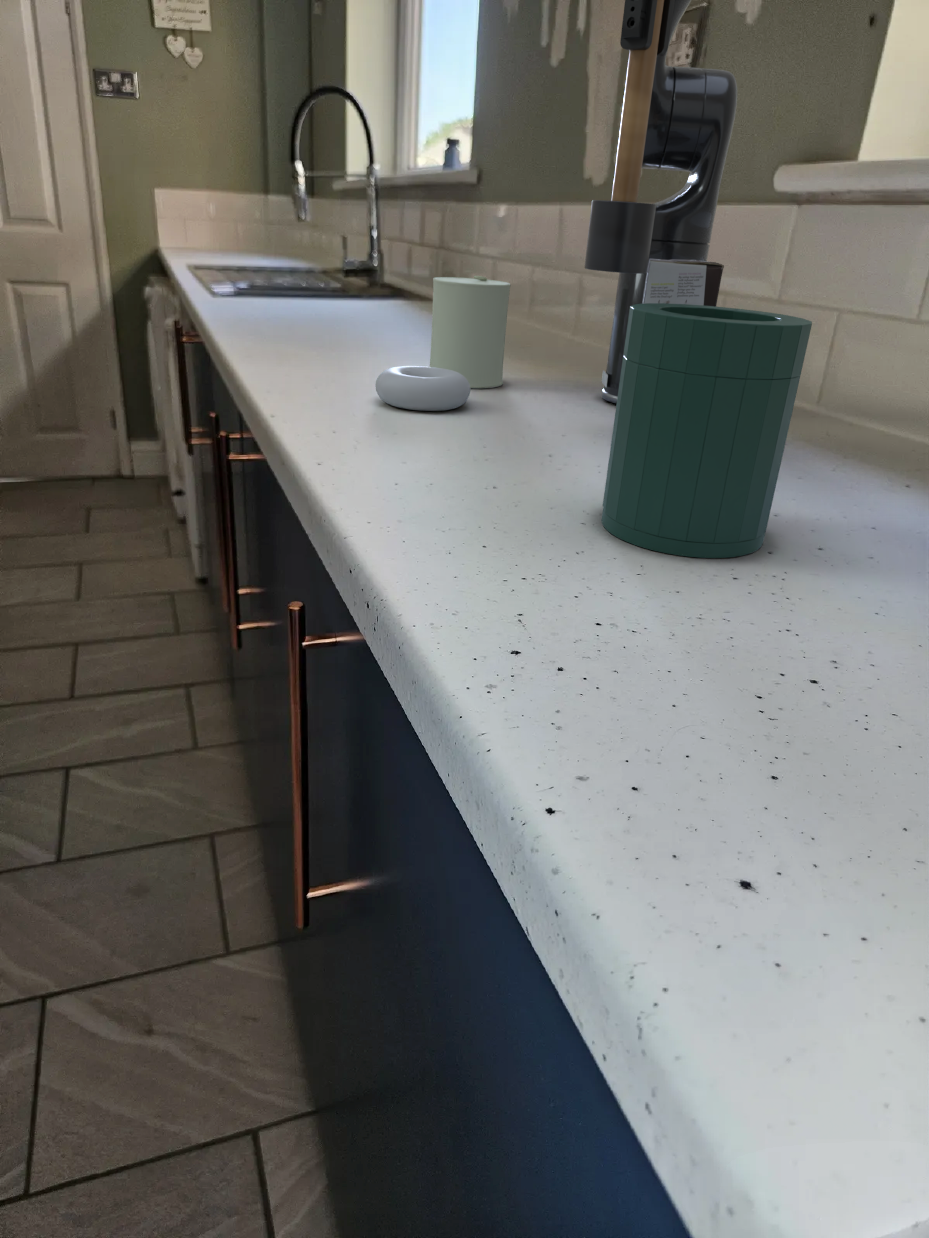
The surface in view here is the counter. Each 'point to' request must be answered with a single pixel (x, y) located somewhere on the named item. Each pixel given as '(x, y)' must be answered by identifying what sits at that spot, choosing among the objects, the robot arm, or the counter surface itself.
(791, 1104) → the counter surface
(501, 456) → the counter surface
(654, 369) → the green utensil holder
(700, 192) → the robot arm
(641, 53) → the brush
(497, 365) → the can
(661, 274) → the coffee box
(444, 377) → the donut
